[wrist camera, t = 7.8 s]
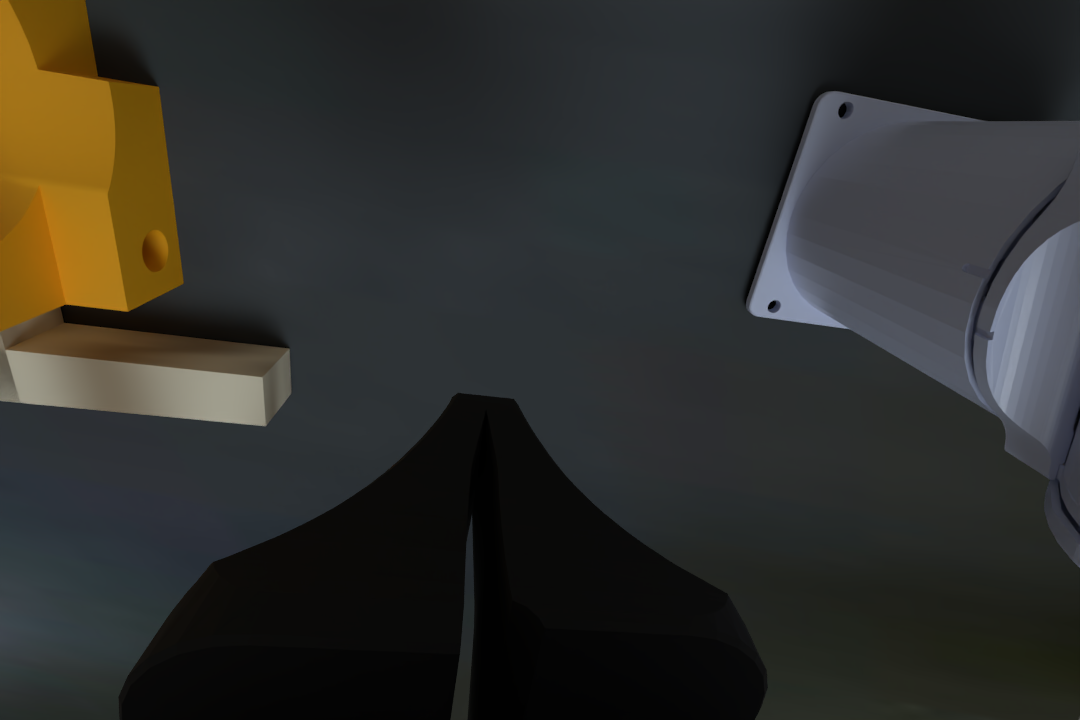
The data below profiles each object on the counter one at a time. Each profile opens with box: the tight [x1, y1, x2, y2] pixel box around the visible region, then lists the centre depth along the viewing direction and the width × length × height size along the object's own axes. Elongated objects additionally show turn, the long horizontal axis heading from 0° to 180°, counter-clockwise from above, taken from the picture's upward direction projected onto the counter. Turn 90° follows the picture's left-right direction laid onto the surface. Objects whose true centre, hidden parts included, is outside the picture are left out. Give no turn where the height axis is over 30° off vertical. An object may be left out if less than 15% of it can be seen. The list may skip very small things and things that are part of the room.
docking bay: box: [0, 307, 291, 426], centre depth 15 cm, size 10×20×2 cm, turn 171°
